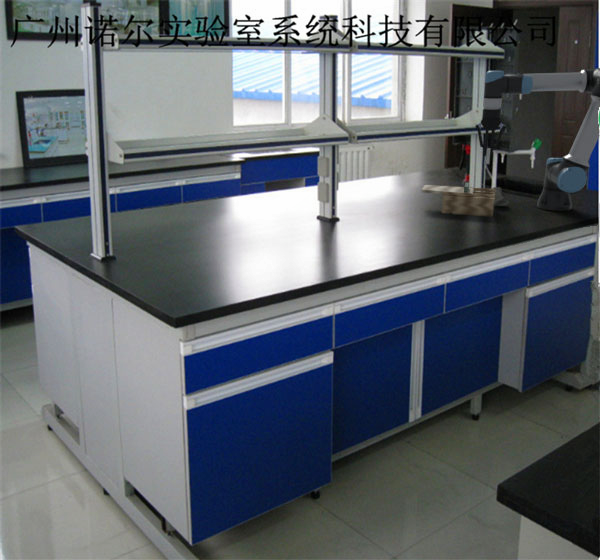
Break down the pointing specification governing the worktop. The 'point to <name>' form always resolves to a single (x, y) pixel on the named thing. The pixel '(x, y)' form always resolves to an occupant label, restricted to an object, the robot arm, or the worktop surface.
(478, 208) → the box
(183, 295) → the worktop surface
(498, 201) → the stone
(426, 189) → the cover plate
